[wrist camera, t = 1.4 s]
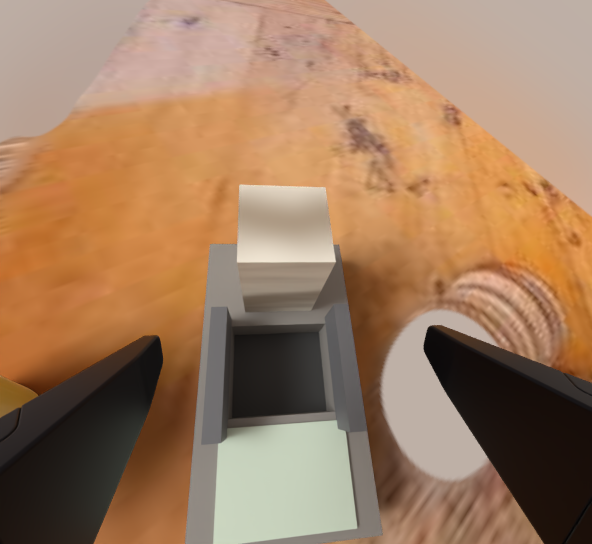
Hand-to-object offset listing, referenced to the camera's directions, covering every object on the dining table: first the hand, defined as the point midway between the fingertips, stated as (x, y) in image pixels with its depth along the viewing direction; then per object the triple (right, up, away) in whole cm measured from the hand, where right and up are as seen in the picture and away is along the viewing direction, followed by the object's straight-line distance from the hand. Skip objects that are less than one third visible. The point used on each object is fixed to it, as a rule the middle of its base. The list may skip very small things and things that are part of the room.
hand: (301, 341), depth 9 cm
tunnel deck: (-2, -5, +13) cm, 14 cm away
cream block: (-2, +2, +13) cm, 13 cm away
